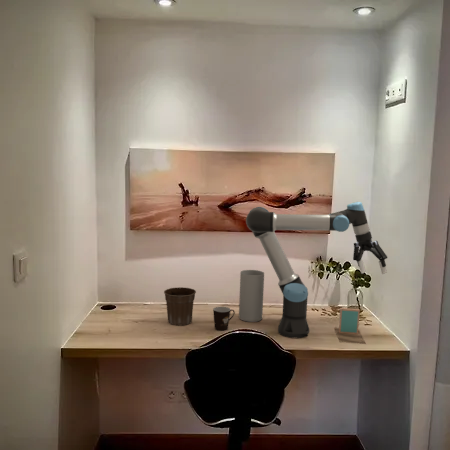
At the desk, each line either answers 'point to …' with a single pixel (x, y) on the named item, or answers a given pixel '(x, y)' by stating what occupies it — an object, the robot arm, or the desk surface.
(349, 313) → the picture frame
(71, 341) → the desk surface
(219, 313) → the coffee mug
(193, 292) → the plant pot
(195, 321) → the desk surface
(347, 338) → the board
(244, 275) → the cylinder vase
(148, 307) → the desk surface
